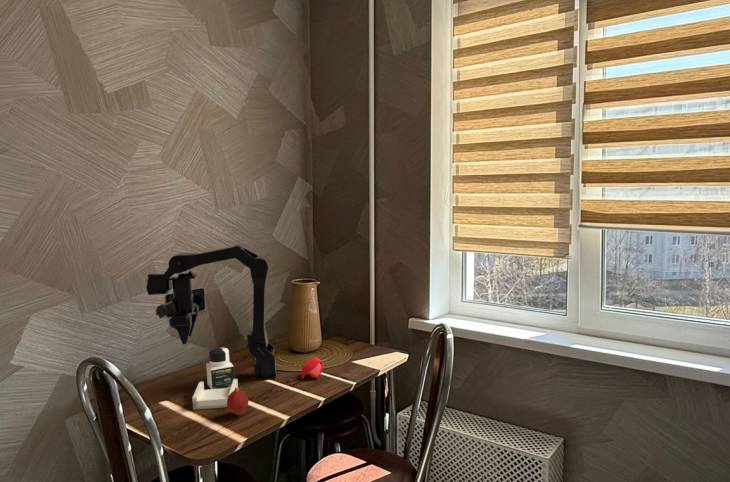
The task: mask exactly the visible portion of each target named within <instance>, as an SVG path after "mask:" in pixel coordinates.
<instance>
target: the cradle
mask: <svg viewBox="0 0 730 482" xmlns="http://www.w3.org/2000/svg"><path fill="white" fill-rule="evenodd" d="M204 384H205V383H204V381H199V382H198V384H197V387H196V388H195V391H194V394H193V395H192V410H195V411H196V410H197V411H198V410H206V409H218V408H219V409H221V408H222V409H223V408H228V407H227V399H228V396H229V395H230V394H231V393H232V392H233V391H234V389H235V388H239V386H238V385H239V382H238V378H234V379H233V382H232V386H231V388H222V389H211V388H210V389H205V385H204Z"/></svg>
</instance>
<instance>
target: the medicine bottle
mask: <svg viewBox="0 0 730 482" xmlns="http://www.w3.org/2000/svg"><path fill="white" fill-rule="evenodd" d="M208 355H209V356H208V358H209V359H208V360H209V362H206V363H205V364H206V365H205V366H206V368H205V369H206V380H207V383H206V384H207V386H208V387H209V388H210V389H222V388H231V386H232V382H233V379H235V368H234V365H233V363H232V362H231V361H230V350H229V349H228V348H226V347H214V348H212V349H210V350H209V352H208Z"/></svg>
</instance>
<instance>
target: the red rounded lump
mask: <svg viewBox="0 0 730 482" xmlns="http://www.w3.org/2000/svg"><path fill="white" fill-rule="evenodd" d="M248 406H249V397H248V395H247V394H246V392H245V391H243V390H241V389H240V388H239V387H238V388H235V389H234V391H233V392H232V393H231V394H230V395H229V396H228V399H227V407H226V408H228V410H229V411H230V412H231V413H233V414H234V415H236V416H240V415H242V414H243V413H244V412H245V411H246V410H247V408H248Z"/></svg>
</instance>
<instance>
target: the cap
mask: <svg viewBox="0 0 730 482" xmlns="http://www.w3.org/2000/svg"><path fill="white" fill-rule="evenodd" d="M301 368H302V369H301V373H302V374H301V379H304V378H305V377H306V375H310V377H313V378H315V379H317V380H318V379H319V378H320V376H321V374H322V372H323V369H324V363H323V361H322V360H321V359H320V358H318V357H314V358H310V359H309V360H308V361H306V362H305V364H304V365H303V366H302V367H301Z"/></svg>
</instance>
